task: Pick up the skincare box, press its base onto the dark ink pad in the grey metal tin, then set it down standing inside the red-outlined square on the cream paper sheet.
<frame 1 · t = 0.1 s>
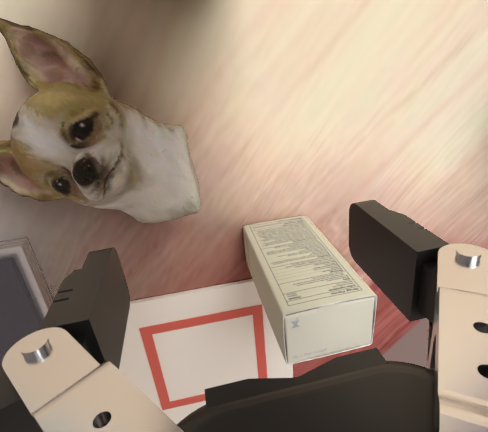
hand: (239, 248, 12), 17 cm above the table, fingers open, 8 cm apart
skincare box: (276, 237, 33), on the table
ceramic sculpture: (102, 135, 26), on the table
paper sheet: (209, 356, 38), on the table
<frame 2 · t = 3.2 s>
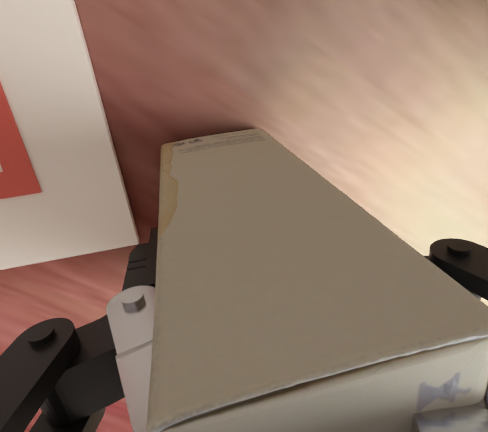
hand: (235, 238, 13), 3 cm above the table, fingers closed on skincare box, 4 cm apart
skincare box: (224, 202, 16), on the table, touching gripper
when the fingers open (5 cm above the table, at t = 17.0 s): skincare box drops 1 cm, resting on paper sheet.
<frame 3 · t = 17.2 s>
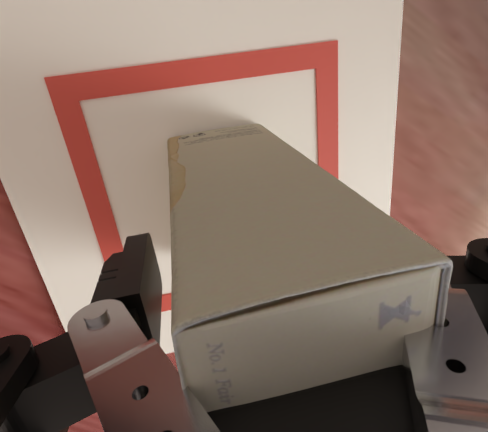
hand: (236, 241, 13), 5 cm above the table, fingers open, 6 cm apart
skincare box: (225, 192, 17), resting on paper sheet
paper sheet: (218, 191, 17), on the table
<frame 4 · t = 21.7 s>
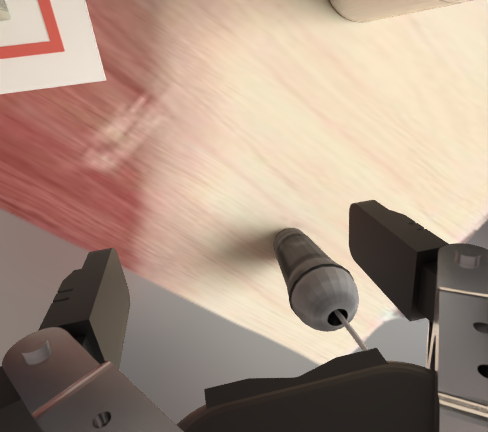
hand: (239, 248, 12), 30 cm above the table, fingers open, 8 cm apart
beverage cup: (289, 242, 48), on the table
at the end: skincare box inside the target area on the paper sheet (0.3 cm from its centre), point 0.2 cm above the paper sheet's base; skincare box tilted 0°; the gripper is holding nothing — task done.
